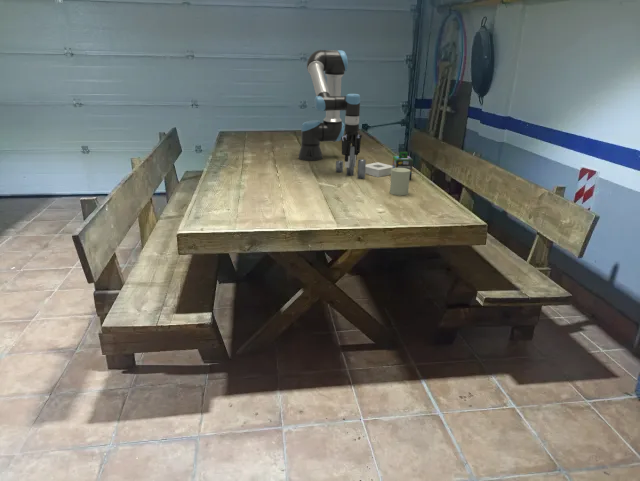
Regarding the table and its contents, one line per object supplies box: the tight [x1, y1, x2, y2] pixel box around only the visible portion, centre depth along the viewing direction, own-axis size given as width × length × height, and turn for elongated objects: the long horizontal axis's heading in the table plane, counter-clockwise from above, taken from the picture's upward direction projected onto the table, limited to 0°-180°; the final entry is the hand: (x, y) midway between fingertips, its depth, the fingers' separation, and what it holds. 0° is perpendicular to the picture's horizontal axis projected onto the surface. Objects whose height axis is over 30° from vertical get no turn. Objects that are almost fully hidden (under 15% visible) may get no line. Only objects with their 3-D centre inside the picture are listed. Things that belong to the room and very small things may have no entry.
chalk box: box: [392, 151, 414, 181], centre depth 263 cm, size 9×9×15 cm
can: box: [389, 168, 410, 196], centre depth 237 cm, size 9×9×12 cm
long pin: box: [346, 145, 355, 177], centre depth 268 cm, size 4×4×16 cm
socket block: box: [365, 161, 393, 178], centre depth 276 cm, size 14×14×4 cm
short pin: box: [335, 160, 344, 174], centre depth 276 cm, size 4×4×6 cm
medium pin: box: [357, 158, 367, 180], centre depth 263 cm, size 4×4×10 cm
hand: (350, 166), depth 269 cm, fingers closed on long pin, 4 cm apart
